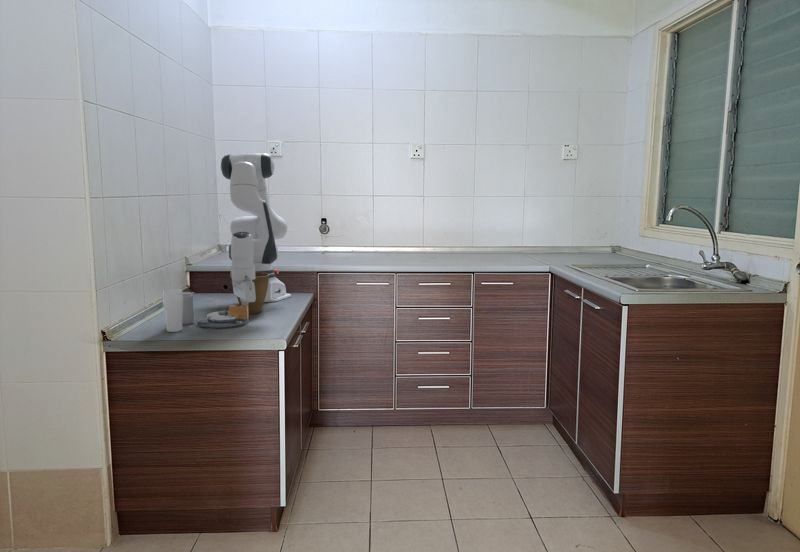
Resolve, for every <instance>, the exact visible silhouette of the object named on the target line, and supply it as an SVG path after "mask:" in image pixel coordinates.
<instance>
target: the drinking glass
mask: <svg viewBox="0 0 800 552" xmlns="http://www.w3.org/2000/svg"><path fill="white" fill-rule="evenodd" d="M183 292H184V291H183V289H182V288H167V289H163V290H162V302H163V303H162V305H163V311H164V316H165V323H166V331H167V332H169V333H178V332H181V331H182V330H183V325H182V317H183Z"/></svg>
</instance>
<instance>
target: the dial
mask: <svg viewBox="0 0 800 552" xmlns="http://www.w3.org/2000/svg"><path fill="white" fill-rule="evenodd" d="M206 317H207V321H209V322H214V323H224V322H232V321H236V320H239V319H248V318H249V313H248V305H240V304H237V305H236V304H233V305H232V304H230V305H228V310H219V311H214V312H209V313H207V314H206ZM249 319H250V318H249Z"/></svg>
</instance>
